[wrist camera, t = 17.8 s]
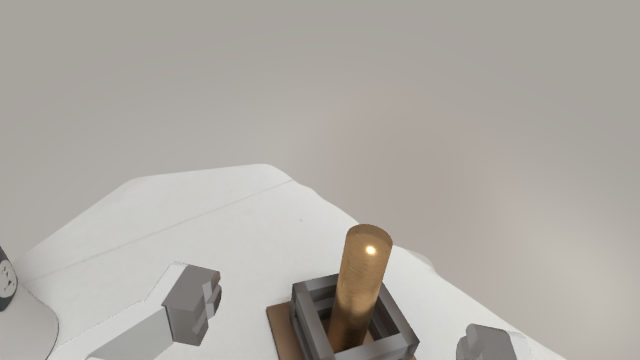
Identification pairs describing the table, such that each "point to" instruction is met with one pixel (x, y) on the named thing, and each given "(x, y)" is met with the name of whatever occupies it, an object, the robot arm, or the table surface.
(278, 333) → the collar stand
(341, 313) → the copper tube
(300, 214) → the table surface
